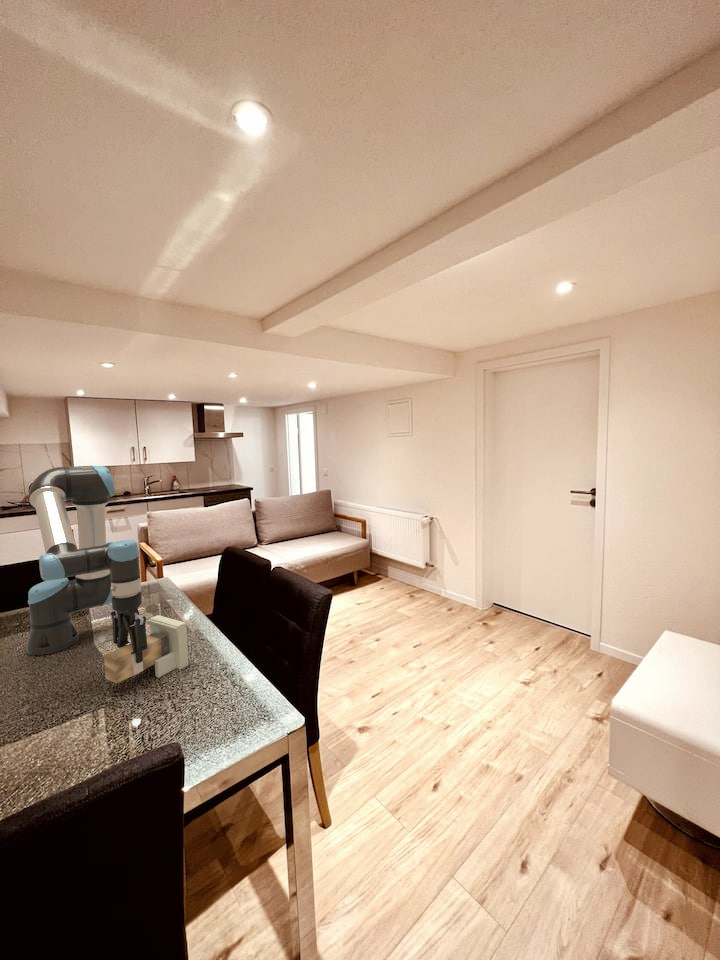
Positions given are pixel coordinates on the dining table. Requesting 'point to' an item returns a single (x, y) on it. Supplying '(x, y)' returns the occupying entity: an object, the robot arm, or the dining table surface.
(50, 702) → the dining table surface
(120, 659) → the tan and grey block
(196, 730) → the dining table surface
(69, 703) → the dining table surface
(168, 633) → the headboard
